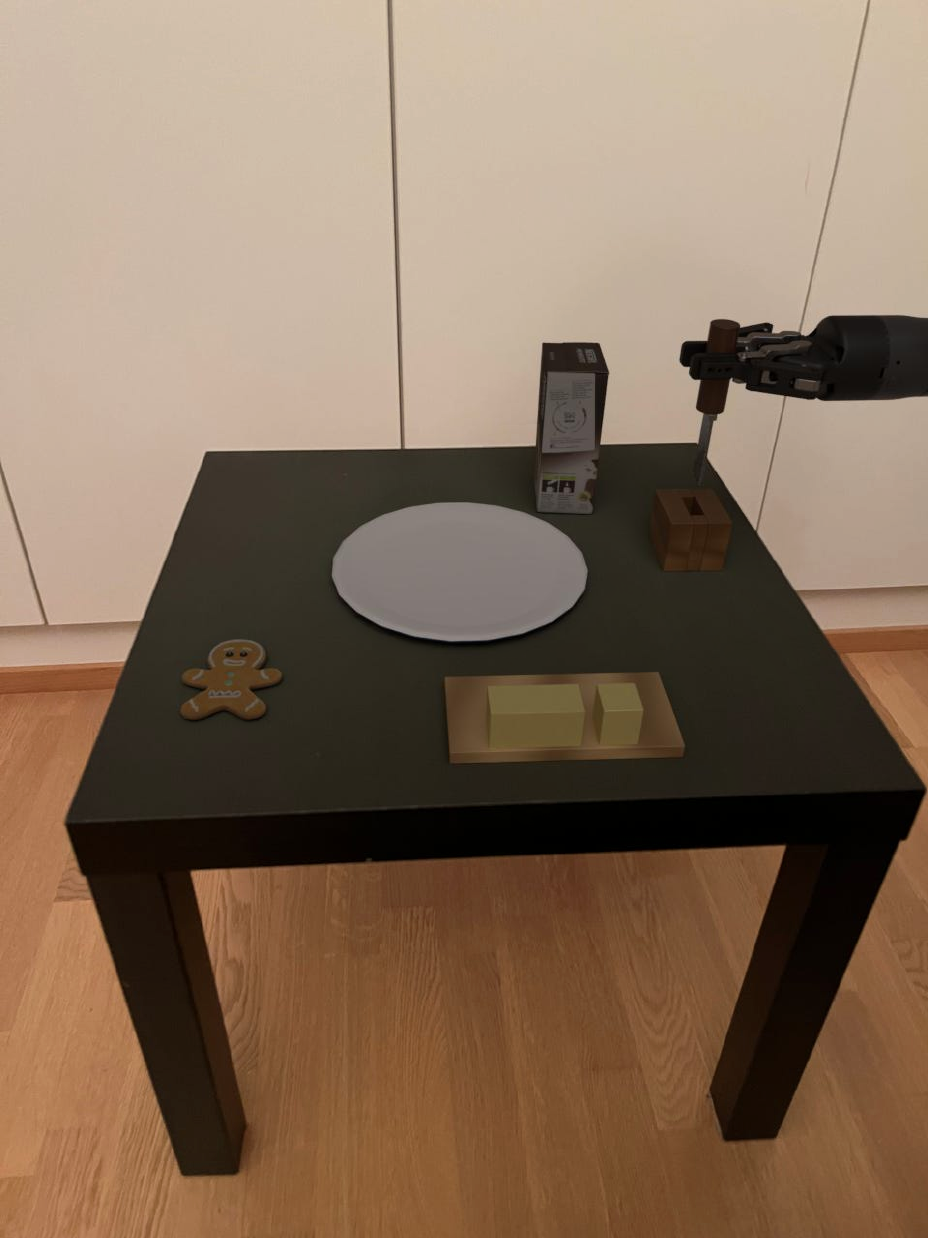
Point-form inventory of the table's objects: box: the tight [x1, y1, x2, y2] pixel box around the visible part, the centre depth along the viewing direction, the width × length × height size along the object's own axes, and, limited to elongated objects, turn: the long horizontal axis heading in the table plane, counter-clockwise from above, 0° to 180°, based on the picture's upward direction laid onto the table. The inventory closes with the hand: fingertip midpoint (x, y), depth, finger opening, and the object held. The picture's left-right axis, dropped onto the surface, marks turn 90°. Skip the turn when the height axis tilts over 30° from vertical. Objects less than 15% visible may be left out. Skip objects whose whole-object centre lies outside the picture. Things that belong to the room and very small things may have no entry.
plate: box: [331, 501, 588, 644], centre depth 93 cm, size 25×25×1 cm
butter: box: [486, 684, 585, 748], centre depth 72 cm, size 7×3×4 cm, turn 94°
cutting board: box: [443, 671, 686, 765], centre depth 76 cm, size 18×9×1 cm, turn 93°
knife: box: [692, 318, 741, 487], centre depth 88 cm, size 3×3×15 cm
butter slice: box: [592, 683, 644, 745], centre depth 72 cm, size 3×3×4 cm
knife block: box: [647, 488, 733, 572], centre depth 96 cm, size 6×7×6 cm
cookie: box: [179, 639, 283, 721], centre depth 79 cm, size 8×1×10 cm
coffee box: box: [533, 341, 610, 515], centre depth 102 cm, size 9×6×16 cm
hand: (687, 360), depth 85 cm, fingers closed on knife, 2 cm apart
